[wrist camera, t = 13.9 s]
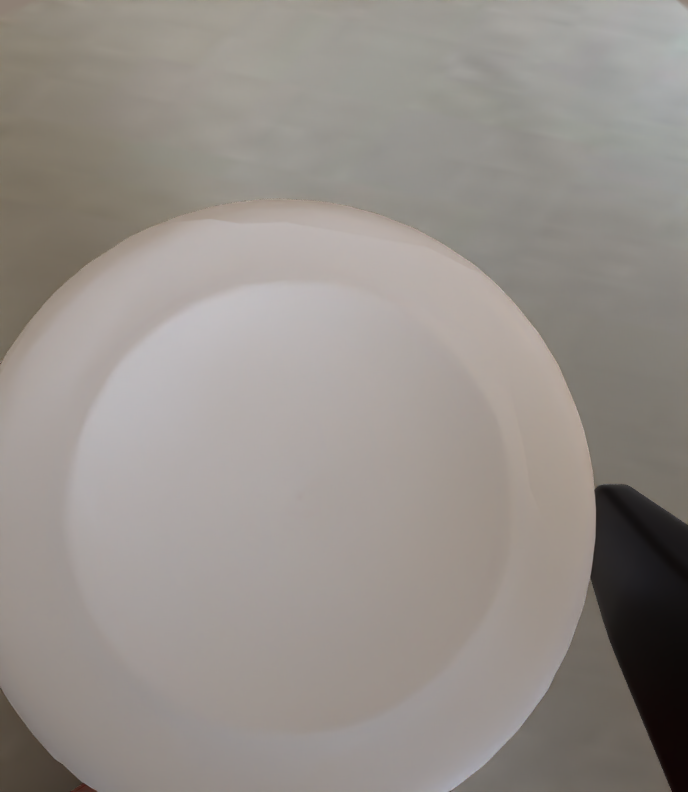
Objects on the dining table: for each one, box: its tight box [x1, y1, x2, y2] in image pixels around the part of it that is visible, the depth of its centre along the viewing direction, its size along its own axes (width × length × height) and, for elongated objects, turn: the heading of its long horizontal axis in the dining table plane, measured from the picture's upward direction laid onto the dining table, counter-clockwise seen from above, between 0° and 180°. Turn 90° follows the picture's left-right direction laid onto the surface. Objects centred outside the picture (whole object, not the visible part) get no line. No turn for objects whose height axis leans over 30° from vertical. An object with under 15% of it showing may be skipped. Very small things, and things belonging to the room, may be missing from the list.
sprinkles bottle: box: [0, 199, 596, 792], centre depth 11 cm, size 5×5×13 cm
